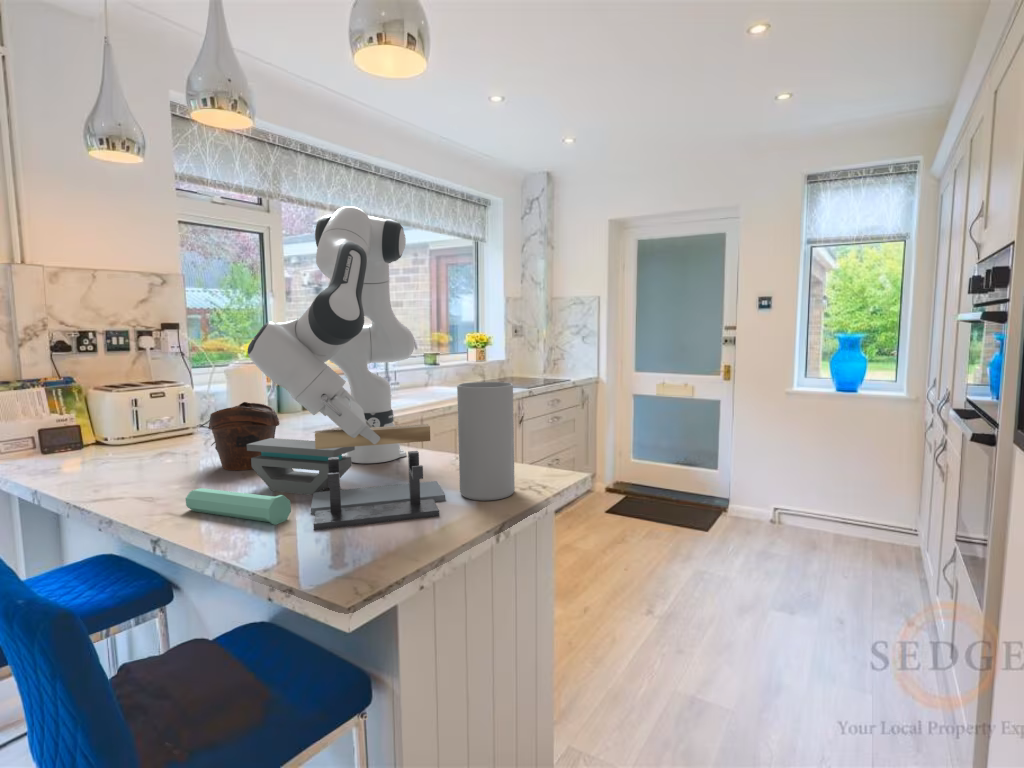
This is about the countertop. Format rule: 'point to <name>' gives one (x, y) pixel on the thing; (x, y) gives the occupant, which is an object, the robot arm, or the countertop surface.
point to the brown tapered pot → (241, 432)
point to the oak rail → (386, 433)
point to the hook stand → (375, 512)
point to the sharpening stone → (295, 464)
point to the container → (240, 505)
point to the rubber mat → (377, 495)
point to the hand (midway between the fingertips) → (377, 438)
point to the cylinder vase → (486, 440)
